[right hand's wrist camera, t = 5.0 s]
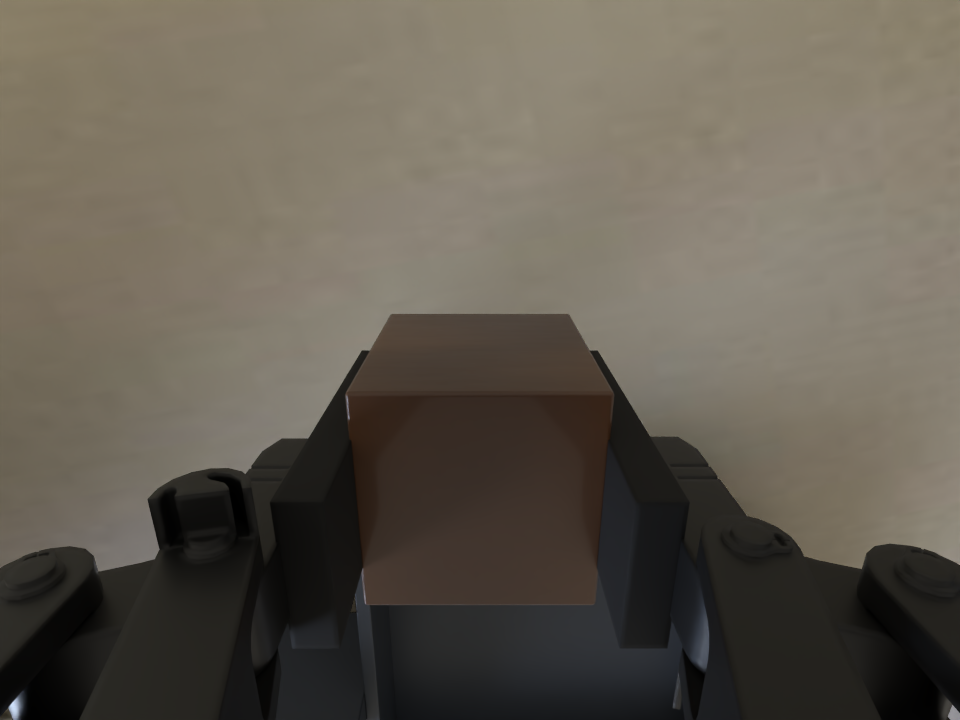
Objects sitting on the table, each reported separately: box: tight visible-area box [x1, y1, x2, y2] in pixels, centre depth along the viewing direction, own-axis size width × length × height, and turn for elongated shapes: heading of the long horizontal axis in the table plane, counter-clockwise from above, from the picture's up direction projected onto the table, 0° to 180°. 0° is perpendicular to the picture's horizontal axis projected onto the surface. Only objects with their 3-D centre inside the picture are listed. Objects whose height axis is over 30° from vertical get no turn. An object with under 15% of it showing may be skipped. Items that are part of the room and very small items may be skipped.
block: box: [345, 314, 614, 605], centre depth 12 cm, size 4×4×5 cm
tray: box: [276, 574, 685, 720], centre depth 25 cm, size 27×15×8 cm, turn 90°
